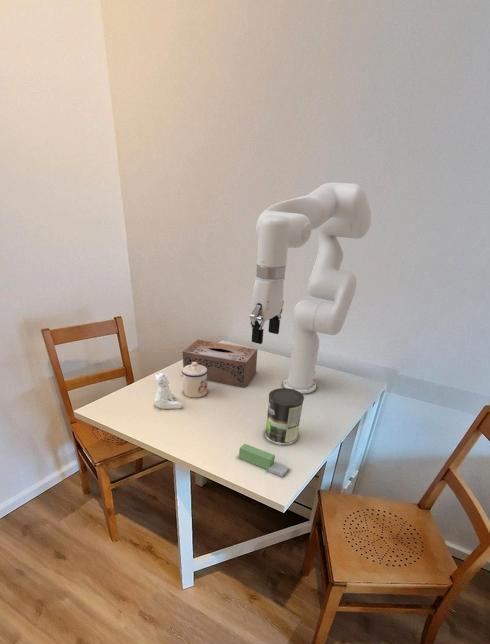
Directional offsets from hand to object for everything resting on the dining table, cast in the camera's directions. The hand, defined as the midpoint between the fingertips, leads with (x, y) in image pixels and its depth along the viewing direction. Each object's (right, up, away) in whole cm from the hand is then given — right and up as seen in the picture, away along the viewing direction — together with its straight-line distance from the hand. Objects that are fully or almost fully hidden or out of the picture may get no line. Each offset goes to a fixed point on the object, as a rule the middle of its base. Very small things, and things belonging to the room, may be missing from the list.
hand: (265, 337), depth 110 cm
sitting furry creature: (-33, -16, +25) cm, 44 cm away
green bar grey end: (-1, -36, -1) cm, 36 cm away
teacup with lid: (-23, -9, +34) cm, 42 cm away
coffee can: (+6, -27, +11) cm, 30 cm away
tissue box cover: (-14, 0, +46) cm, 48 cm away
